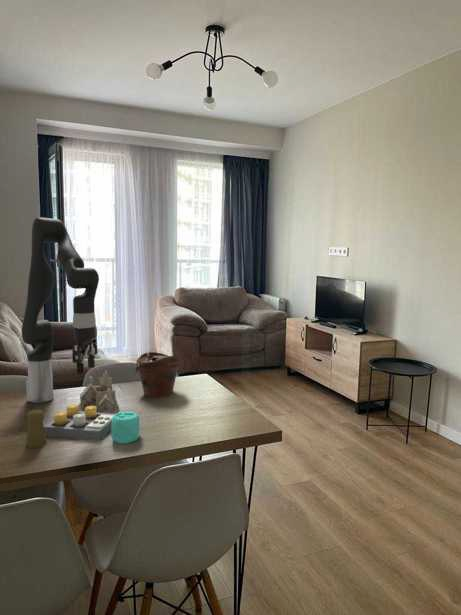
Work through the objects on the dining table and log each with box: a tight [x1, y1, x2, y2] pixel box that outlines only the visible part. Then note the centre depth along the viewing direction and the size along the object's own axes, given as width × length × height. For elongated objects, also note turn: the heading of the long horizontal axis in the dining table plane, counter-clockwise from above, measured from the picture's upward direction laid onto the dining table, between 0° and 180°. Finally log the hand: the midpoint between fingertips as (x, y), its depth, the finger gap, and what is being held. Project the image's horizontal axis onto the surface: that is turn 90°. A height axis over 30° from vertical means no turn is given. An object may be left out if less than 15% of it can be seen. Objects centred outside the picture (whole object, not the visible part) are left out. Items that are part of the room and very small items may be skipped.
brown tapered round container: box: [134, 351, 181, 398], centre depth 197 cm, size 18×20×18 cm
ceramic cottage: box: [77, 370, 120, 414], centre depth 174 cm, size 16×16×15 cm
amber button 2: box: [66, 404, 79, 416], centre depth 161 cm, size 4×4×3 cm
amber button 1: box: [53, 411, 67, 425], centre depth 154 cm, size 4×4×3 cm
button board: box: [43, 411, 115, 441], centre depth 157 cm, size 20×16×4 cm
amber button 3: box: [85, 406, 97, 418], centre depth 160 cm, size 4×4×3 cm
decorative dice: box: [110, 410, 140, 444], centre depth 149 cm, size 8×8×8 cm
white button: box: [73, 414, 86, 426], centre depth 152 cm, size 4×4×3 cm
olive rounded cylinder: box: [25, 409, 47, 449], centre depth 144 cm, size 6×6×11 cm
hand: (86, 370), depth 159 cm, fingers open, 8 cm apart
